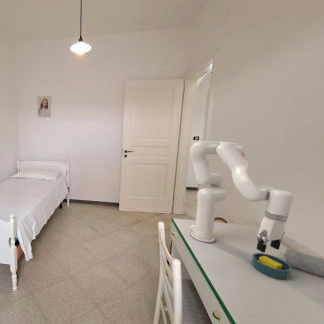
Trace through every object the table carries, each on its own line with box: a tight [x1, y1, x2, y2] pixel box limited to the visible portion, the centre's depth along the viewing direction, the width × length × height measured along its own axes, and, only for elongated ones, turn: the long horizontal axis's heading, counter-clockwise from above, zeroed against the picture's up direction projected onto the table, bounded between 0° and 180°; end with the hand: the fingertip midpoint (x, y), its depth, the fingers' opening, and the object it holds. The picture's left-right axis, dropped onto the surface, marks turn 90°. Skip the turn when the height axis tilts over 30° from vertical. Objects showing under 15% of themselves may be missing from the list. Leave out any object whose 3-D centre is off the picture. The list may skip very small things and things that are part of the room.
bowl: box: [251, 252, 293, 280], centre depth 97 cm, size 13×13×4 cm
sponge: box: [259, 256, 282, 270], centre depth 98 cm, size 7×4×4 cm, turn 17°
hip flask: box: [285, 248, 324, 278], centre depth 99 cm, size 16×4×20 cm
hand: (267, 249), depth 97 cm, fingers open, 9 cm apart
